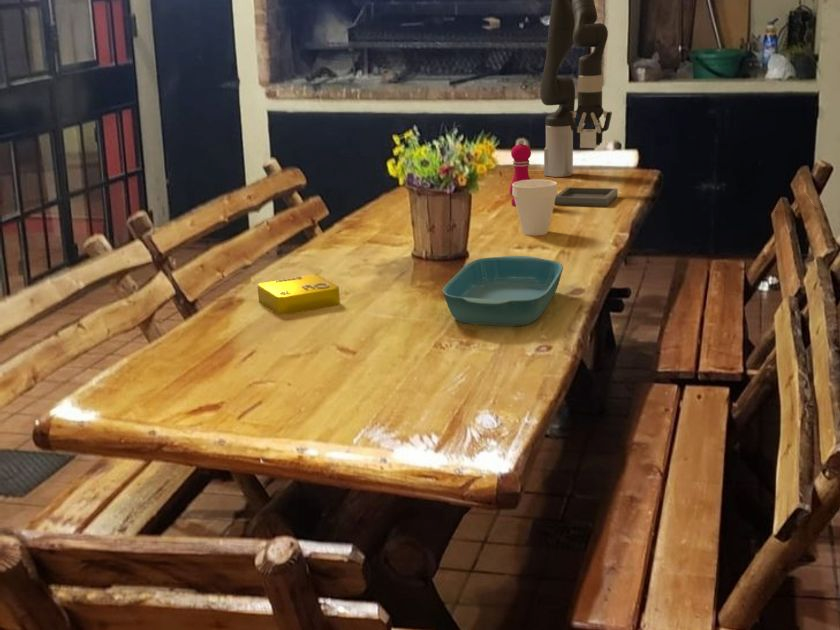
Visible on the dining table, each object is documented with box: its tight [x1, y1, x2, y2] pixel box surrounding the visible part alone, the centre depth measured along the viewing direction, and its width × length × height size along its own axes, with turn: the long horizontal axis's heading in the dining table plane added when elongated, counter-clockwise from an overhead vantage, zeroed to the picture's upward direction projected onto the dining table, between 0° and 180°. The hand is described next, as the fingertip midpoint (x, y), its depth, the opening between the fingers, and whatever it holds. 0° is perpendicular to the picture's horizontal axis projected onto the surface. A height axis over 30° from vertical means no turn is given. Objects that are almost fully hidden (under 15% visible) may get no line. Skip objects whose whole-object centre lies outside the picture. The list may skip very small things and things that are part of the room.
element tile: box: [257, 273, 341, 315], centre depth 260 cm, size 15×15×5 cm
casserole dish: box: [442, 255, 564, 327], centre depth 250 cm, size 37×22×7 cm, turn 163°
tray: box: [554, 186, 619, 208], centre depth 356 cm, size 16×16×2 cm
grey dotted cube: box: [579, 128, 600, 149], centre depth 364 cm, size 5×5×5 cm
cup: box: [511, 178, 558, 236], centre depth 316 cm, size 12×12×14 cm
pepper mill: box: [509, 138, 532, 207], centre depth 352 cm, size 7×7×20 cm
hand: (589, 144), depth 364 cm, fingers closed on grey dotted cube, 5 cm apart
